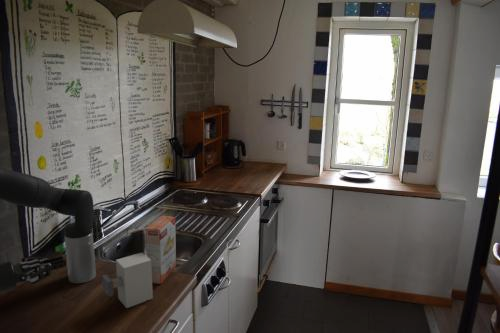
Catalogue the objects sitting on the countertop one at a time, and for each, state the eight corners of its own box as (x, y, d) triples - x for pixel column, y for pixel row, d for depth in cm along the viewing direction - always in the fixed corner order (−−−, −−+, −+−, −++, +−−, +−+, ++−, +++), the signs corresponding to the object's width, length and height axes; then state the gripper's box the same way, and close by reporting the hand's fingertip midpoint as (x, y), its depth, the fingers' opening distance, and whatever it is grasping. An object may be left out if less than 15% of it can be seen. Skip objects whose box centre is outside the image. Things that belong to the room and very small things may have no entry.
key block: (118, 298, 127) (115, 259, 124) (143, 289, 133) (142, 252, 130) (126, 308, 122) (124, 268, 119) (152, 298, 127) (151, 259, 124)
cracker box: (162, 285, 136) (160, 230, 131) (146, 283, 137) (144, 228, 132) (177, 266, 149) (176, 216, 144) (162, 265, 150) (161, 214, 146)
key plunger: (103, 289, 122) (102, 275, 121) (125, 282, 127) (125, 268, 126) (108, 296, 118) (107, 282, 117) (132, 288, 123) (131, 274, 122)
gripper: (-6, 277, 93) (70, 257, 104) (-13, 256, 103) (56, 240, 114) (-2, 304, 95) (72, 282, 106) (-9, 282, 105) (59, 263, 116)
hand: (64, 260), depth 110 cm, fingers closed
